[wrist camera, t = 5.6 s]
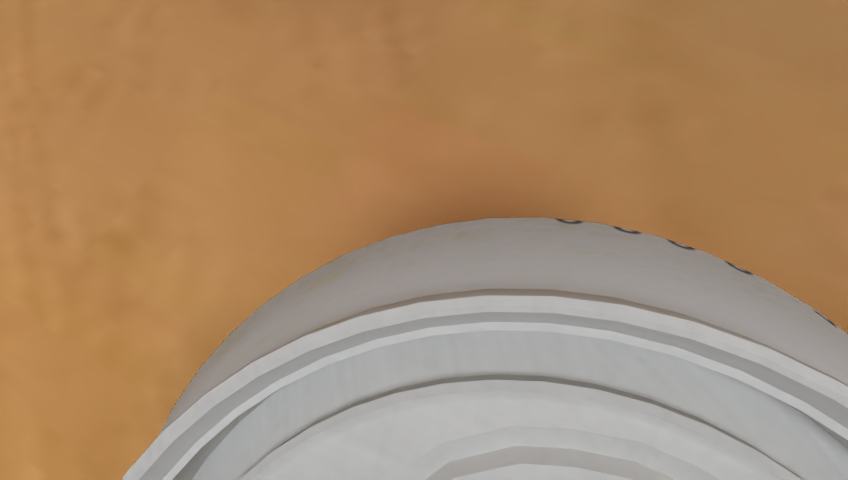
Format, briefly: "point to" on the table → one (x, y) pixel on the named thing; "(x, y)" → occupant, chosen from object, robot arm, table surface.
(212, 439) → the beer can
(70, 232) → the table surface
